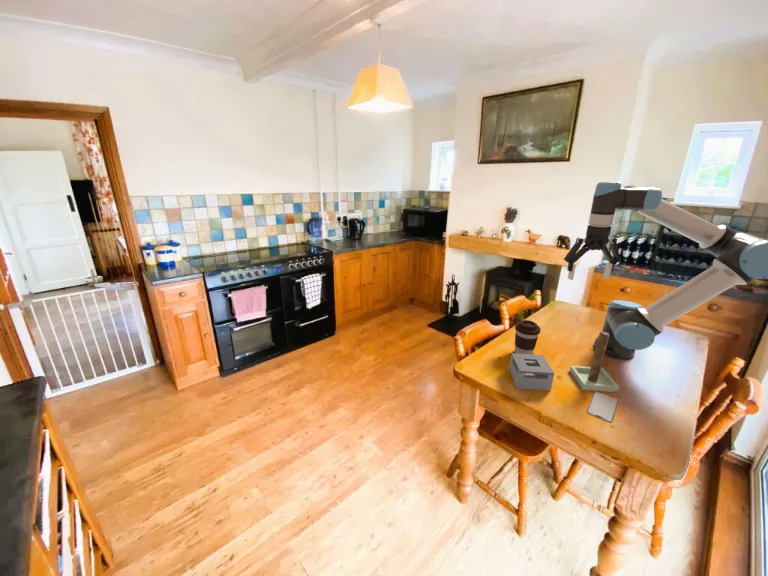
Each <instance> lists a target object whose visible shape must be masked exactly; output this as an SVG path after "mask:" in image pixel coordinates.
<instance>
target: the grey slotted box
mask: <svg viewBox="0 0 768 576" xmlns="http://www.w3.org/2000/svg"><path fill="white" fill-rule="evenodd" d="M509 362H510V363H509V367H508V368H509V369H508V370H509V373H510V375H511V377H512V378H511V379H512V380H513V382H514V385H515V387H516V389H519V390H531V391H546V392H547V391H548V392H551V390H552V387H553V382H554V377H555V372H554V370H553V369H552V366H551V365H550V364H549V362H548V361H547V358H546V357H545V355H544V354H517V353H515V352H514V353H513V352H511V356H510V361H509Z"/></svg>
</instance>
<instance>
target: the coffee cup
mask: <svg viewBox="0 0 768 576" xmlns="http://www.w3.org/2000/svg"><path fill="white" fill-rule="evenodd" d="M514 329H515V330H516V331H515V333H514V334H515V336H514V338H515V339H514V353H517V354H533V353H534V351H535V348H536V345H537V341H538V339H539V338H538V337H539V334H541V327H540V326H539V324H537V323H536V322H534V321H532V320H528V319H522V320H520V321H519V322H517V323H515V326H514Z"/></svg>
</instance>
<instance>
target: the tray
mask: <svg viewBox="0 0 768 576" xmlns="http://www.w3.org/2000/svg"><path fill="white" fill-rule="evenodd" d="M590 369H591V366H583V365H582V366H580V365H579V366H578V365H570V367H569V372H570V374H571V375H572V376H573V378H574V380H575V381H576V382H577V384H578V385H579V386H580V388H581V390H582V391H591V392H592V391H594V392H595V391H598V392H606V393H607V392H609V393H619V389H620V385H618V383H617V382H616V381H615V380H614V379H613V378H612V376H611V375H610V374H609V373H608V372H607V370H605V369H604V367H601V369H600V372H599V376H598V380H597V382H591V381H589V380H588V377H589V373H590Z"/></svg>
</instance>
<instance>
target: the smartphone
mask: <svg viewBox="0 0 768 576" xmlns="http://www.w3.org/2000/svg"><path fill="white" fill-rule="evenodd" d="M591 397H592V398H591V399H590V402H589V404H588V406H587V410H586V413H587V414H588V415H590V416H593V417H595V418H597V419H600V420H603V421H605V422H607V423H610V424H611V423H613V421H614V417H615V414H616V411H617V407H618V404H619V401H620V400H619V399H618V398H616V397H614V396H612V395H608V394H606V393H604V392H602V391H594V393H593V395H592V396H591Z"/></svg>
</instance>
